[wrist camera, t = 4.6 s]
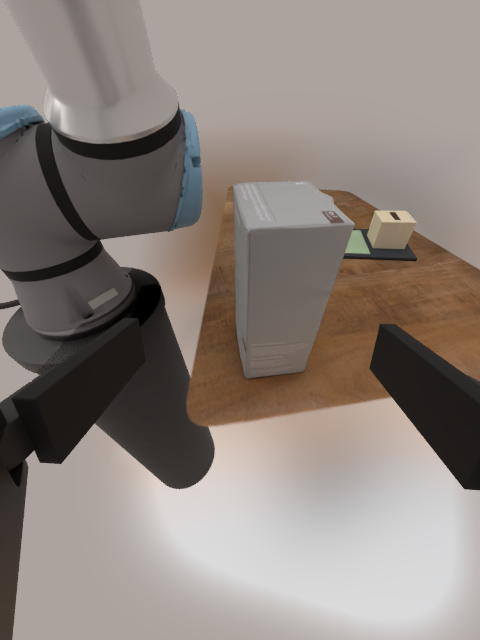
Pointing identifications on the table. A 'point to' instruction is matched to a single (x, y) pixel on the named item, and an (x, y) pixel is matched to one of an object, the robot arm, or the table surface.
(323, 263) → the cosmetic box
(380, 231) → the dark base board
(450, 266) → the table surface
